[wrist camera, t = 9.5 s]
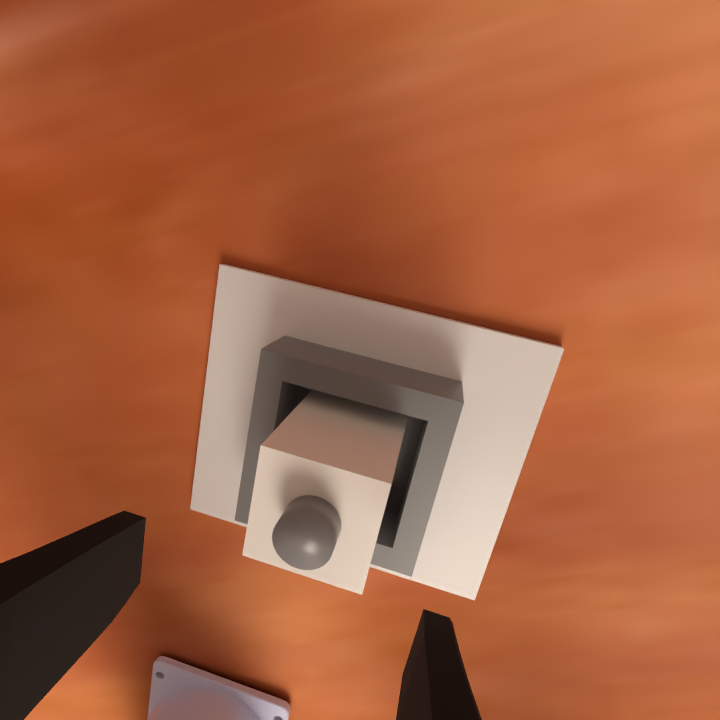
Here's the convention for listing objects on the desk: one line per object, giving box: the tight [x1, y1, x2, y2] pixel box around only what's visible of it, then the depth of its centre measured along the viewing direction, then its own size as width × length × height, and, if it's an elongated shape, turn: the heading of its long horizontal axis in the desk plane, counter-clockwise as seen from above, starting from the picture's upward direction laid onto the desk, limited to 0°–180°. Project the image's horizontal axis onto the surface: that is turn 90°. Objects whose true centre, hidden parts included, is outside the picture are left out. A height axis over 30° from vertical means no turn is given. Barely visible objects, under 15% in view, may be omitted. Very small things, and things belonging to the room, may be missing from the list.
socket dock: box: [190, 264, 564, 600], centre depth 19 cm, size 12×14×3 cm
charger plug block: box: [242, 390, 408, 595], centre depth 16 cm, size 4×4×7 cm
